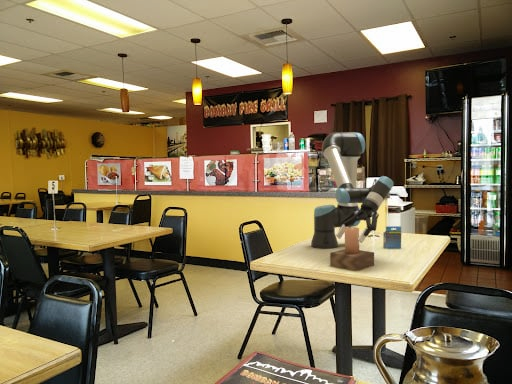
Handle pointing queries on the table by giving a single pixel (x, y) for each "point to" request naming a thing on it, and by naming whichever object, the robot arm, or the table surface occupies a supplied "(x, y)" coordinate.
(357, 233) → the terracotta canister
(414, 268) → the table surface
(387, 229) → the label tape box
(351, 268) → the walnut block
